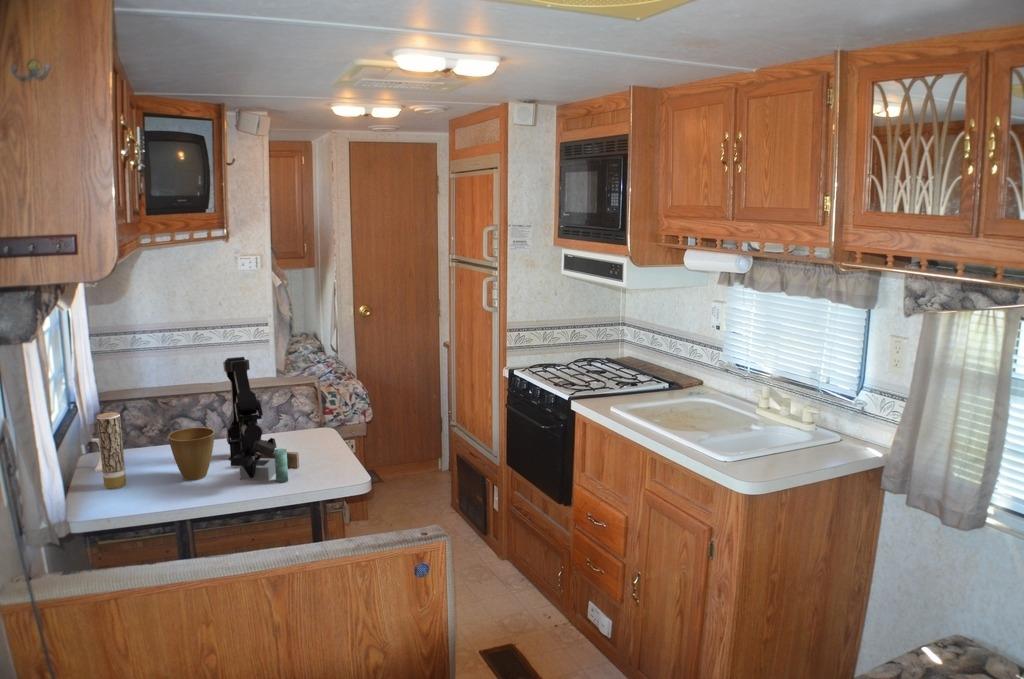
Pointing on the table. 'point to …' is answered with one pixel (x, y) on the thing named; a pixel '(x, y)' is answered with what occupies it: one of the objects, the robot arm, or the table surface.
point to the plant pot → (192, 451)
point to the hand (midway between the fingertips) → (251, 477)
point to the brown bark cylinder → (111, 450)
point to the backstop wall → (288, 459)
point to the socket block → (260, 470)
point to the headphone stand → (99, 467)
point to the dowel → (281, 465)
